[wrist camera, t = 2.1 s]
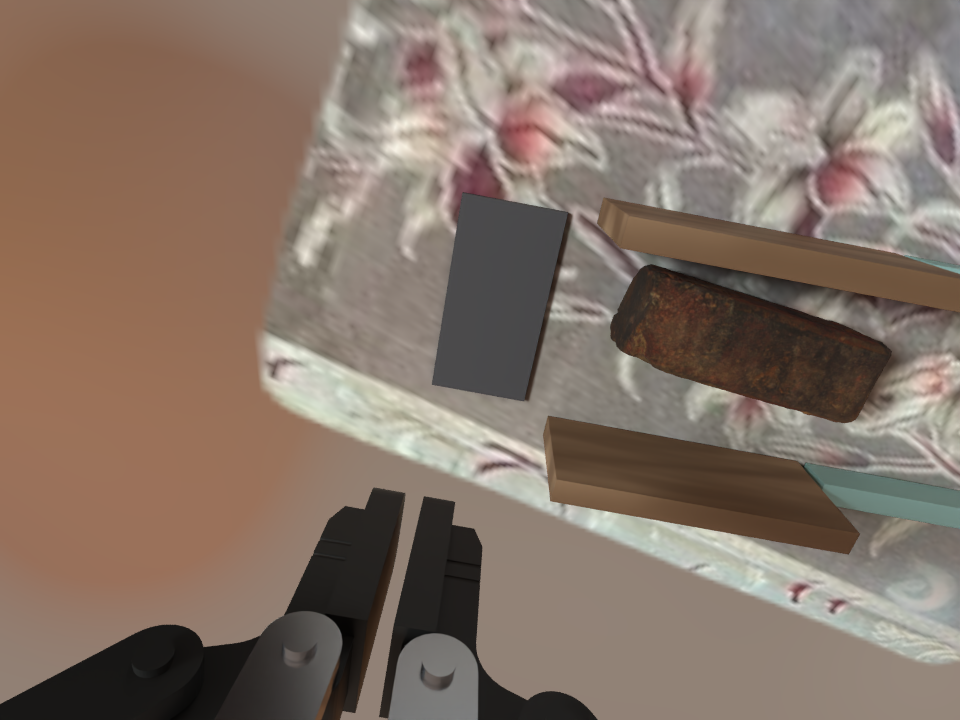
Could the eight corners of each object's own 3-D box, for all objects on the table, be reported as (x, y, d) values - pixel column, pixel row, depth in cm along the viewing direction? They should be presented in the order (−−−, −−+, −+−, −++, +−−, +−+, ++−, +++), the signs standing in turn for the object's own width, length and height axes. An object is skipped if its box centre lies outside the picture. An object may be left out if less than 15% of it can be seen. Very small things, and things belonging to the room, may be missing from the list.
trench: (603, 197, 26) (629, 215, 20) (894, 253, 26) (997, 286, 21) (543, 434, 31) (550, 500, 25) (788, 479, 31) (848, 554, 26)
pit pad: (463, 192, 26) (462, 192, 26) (567, 212, 26) (567, 212, 26) (432, 382, 30) (431, 384, 30) (523, 398, 30) (523, 401, 30)
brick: (832, 318, 28) (902, 347, 23) (794, 390, 29) (854, 431, 24) (633, 255, 26) (667, 274, 22) (602, 333, 27) (629, 366, 23)
